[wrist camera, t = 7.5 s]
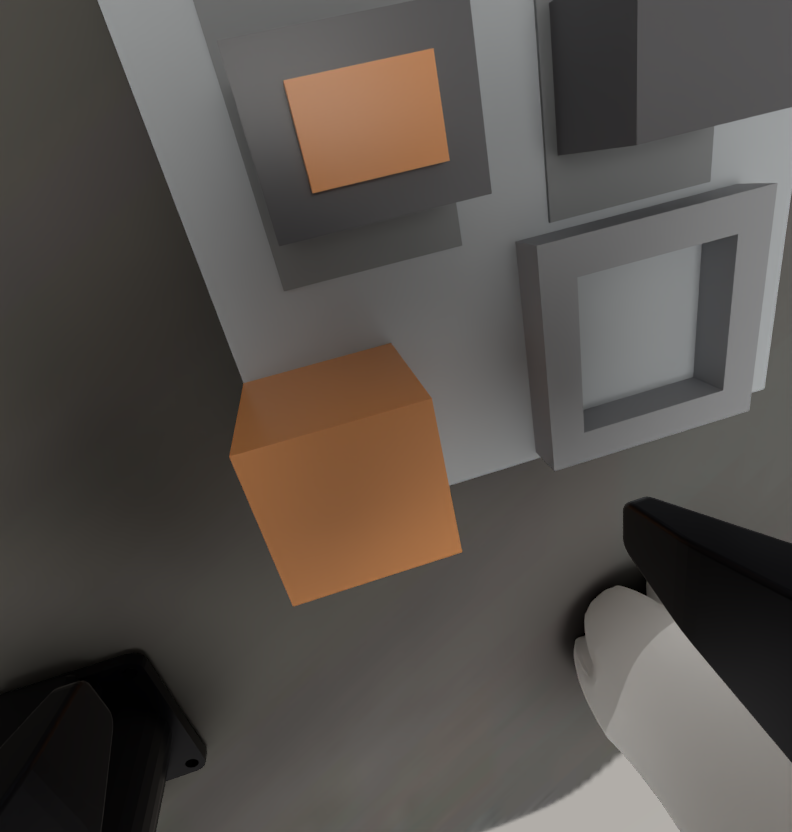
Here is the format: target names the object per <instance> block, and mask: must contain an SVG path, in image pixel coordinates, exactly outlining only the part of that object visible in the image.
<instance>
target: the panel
mask: <svg viewBox="0 0 792 832" xmlns="http://www.w3.org/2000/svg"><path fill="white" fill-rule="evenodd" d="M408 1H413V0H98V3H99V5H100V8H101V11H102V13H103V16H104V19H105V21H106V24H107V26H108V29H109V32H110V34H111V37H112V40H113V42H114V45H115V47H116V50H117V53H118V55H119V58H120V61H121V63H122V66H123V68H124V71H125V74H126V76H127V79H128V82H129V84H130V87H131V89H132V92H133V95H134V97H135V100H136V103H137V105H138V108H139V110H140V113H141V116H142V118H143V121H144V124H145V126H146V129H147V131H148V134H149V137H150V139H151V142H152V145H153V147H154V150H155V152H156V155H157V158H158V160H159V163H160V166H161V168H162V171H163V173H164V176H165V179H166V181H167V184H168V186H169V189H170V192H171V194H172V197H173V200H174V202H175V205H176V207H177V210H178V213H179V215H180V218H181V221H182V223H183V226H184V228H185V231H186V234H187V236H188V239H189V242H190V244H191V247H192V249H193V252H194V255H195V257H196V260H197V263H198V265H199V268H200V270H201V273H202V276H203V278H204V281H205V284H206V286H207V289H208V291H209V294H210V297H211V299H212V302H213V305H214V307H215V310H216V312H217V315H218V318H219V320H220V323H221V326H222V328H223V331H224V333H225V336H226V339H227V341H228V344H229V347H230V349H231V352H232V354H233V357H234V360H235V362H236V365H237V368H238V370H239V373H240V375H241V378H242V381H243V383H246V382H250V381H253V380H257V379H261V378H264V377H268V376H272V375H275V374H279V373H283V372H286V371H290V370H294V369H297V368H301V367H305V366H308V365H312V364H316V363H319V362H323V361H326V360H330V359H334V358H337V357H341V356H345V355H348V354H352V353H356V352H359V351H363V350H367V349H370V348H374V347H378V346H381V345H385V344H389V343H392V345H393V346H394V347H395V349H396V350H397V352H398V353H399V354H400V356H401V357H402V358H403V360H404V361H405V362H406V364H407V365H408V367H409V368H410V369H411V371H412V372H413V373H414V375H415V376H416V377H417V379H418V380H419V381H420V383H421V384H422V386H423V387H424V388H425V390H426V391H427V392H428V394H429V395H430V396H431V398H432V401H433V406H434V411H435V417H436V422H437V427H438V432H439V437H440V442H441V447H442V452H443V457H444V462H445V467H446V472H447V478H448V483H449V486H450V485H453V484H456V483H459V482H463V481H466V480H469V479H472V478H476V477H479V476H482V475H485V474H489V473H492V472H495V471H498V470H502V469H505V468H508V467H511V466H515V465H518V464H521V463H524V462H528V461H531V460H534V459H538V458H542V459H543V460H544V461H545V462H546V463H547V464H548V465H549V466H550V467H551V468H552V469H553V470H554V471H557V470H560V469H563V468H567V467H570V466H573V465H576V464H579V463H583V462H586V461H589V460H592V459H596V458H599V457H602V456H605V455H608V454H612V453H615V452H618V451H621V450H624V449H628V448H631V447H634V446H637V445H641V444H644V443H647V442H650V441H653V440H657V439H660V438H663V437H666V436H669V435H673V434H676V433H679V432H682V431H686V430H689V429H692V428H695V427H698V426H702V425H705V424H708V423H711V422H714V421H718V420H721V419H724V418H727V417H731V416H734V415H737V414H740V413H743V412H747V411H749V409H750V401H751V393H752V392H756V391H759V390H762V389H764V388H765V381H766V374H767V366H768V359H769V352H770V345H771V337H772V330H773V323H774V315H775V308H776V301H777V294H778V286H779V279H780V272H781V264H782V257H783V250H784V243H785V235H786V228H787V221H788V213H789V206H790V199H791V191H792V0H470V4H471V13H472V22H473V31H474V40H475V49H476V57H477V66H478V75H479V84H480V93H481V102H482V111H483V119H484V128H485V137H486V146H487V155H488V164H489V173H490V181H491V190H492V194H489V195H485V196H480V197H476V198H472V199H468V200H464V201H460V202H456V203H452V204H448V205H444V206H440V207H436V208H432V209H428V210H424V211H420V212H416V213H412V214H408V215H404V216H400V217H396V218H392V219H388V220H384V221H380V222H376V223H372V224H368V225H364V226H360V227H356V228H352V229H348V230H343V231H339V232H335V233H331V234H327V235H323V236H319V237H315V238H311V239H307V240H303V241H299V242H295V243H291V244H287V245H283V246H279V245H278V241H277V238H276V235H275V231H274V228H273V225H272V222H271V218H270V215H269V212H268V208H267V205H266V202H265V199H264V195H263V192H262V189H261V185H260V182H259V179H258V176H257V172H256V169H255V166H254V162H253V159H252V156H251V153H250V149H249V146H248V143H247V139H246V136H245V133H244V130H243V126H242V123H241V120H240V116H239V113H238V110H237V107H236V103H235V100H234V97H233V93H232V90H231V87H230V84H229V80H228V77H227V74H226V70H225V67H224V64H223V61H222V57H221V54H220V51H219V47H218V44H217V40H222V39H227V38H232V37H236V36H241V35H246V34H251V33H256V32H261V31H266V30H271V29H276V28H281V27H285V26H290V25H295V24H300V23H305V22H310V21H315V20H320V19H325V18H330V17H335V16H339V15H344V14H349V13H354V12H359V11H364V10H369V9H374V8H379V7H384V6H389V5H393V4H398V3H403V2H408Z"/></svg>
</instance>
